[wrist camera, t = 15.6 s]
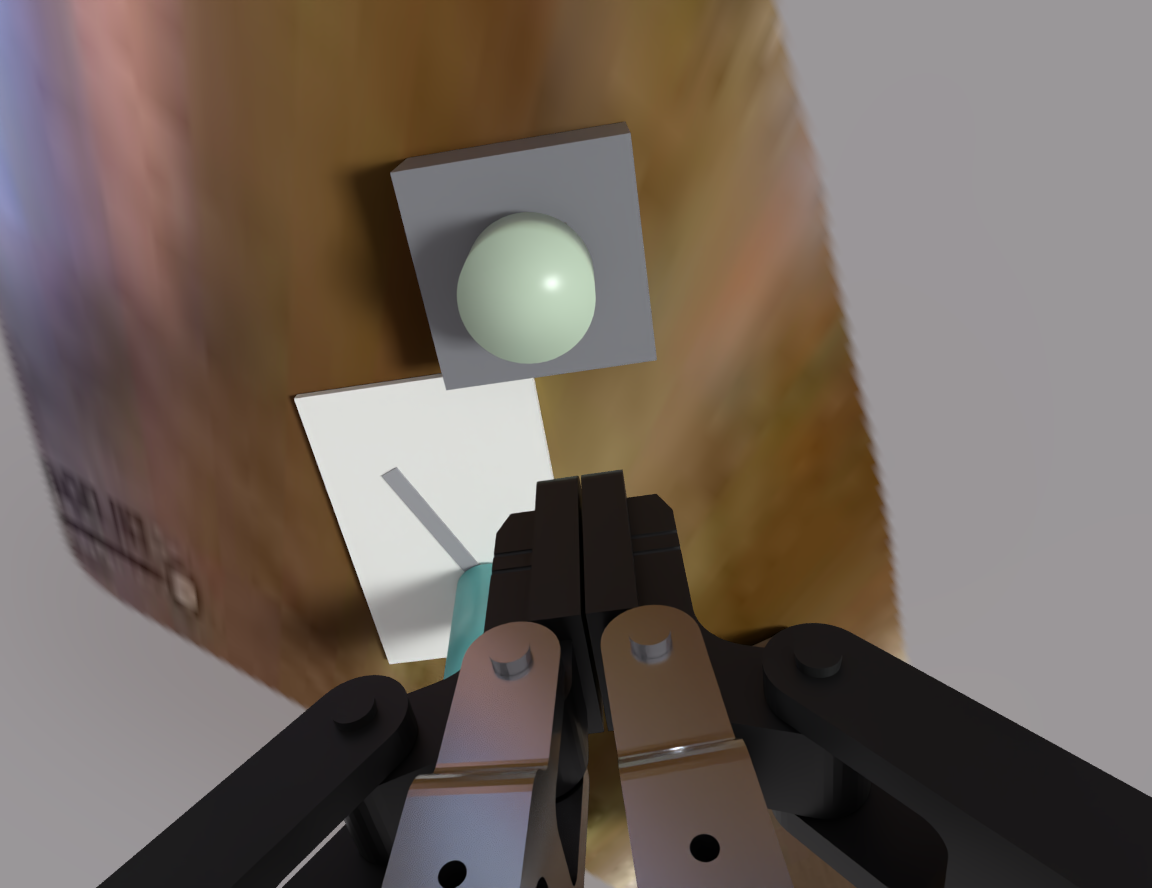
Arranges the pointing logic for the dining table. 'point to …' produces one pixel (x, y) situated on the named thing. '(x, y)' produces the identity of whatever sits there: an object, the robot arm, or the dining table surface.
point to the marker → (467, 614)
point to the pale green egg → (527, 288)
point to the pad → (424, 490)
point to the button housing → (543, 185)
